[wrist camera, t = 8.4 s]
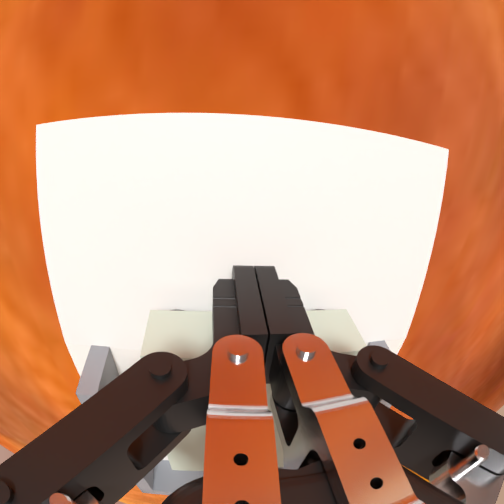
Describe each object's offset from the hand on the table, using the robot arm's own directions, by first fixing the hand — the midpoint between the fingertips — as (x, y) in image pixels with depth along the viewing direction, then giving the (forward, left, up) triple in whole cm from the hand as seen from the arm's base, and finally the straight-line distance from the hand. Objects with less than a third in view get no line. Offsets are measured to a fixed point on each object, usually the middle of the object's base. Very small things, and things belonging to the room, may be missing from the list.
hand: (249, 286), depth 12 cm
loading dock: (0, +7, -3) cm, 7 cm away
